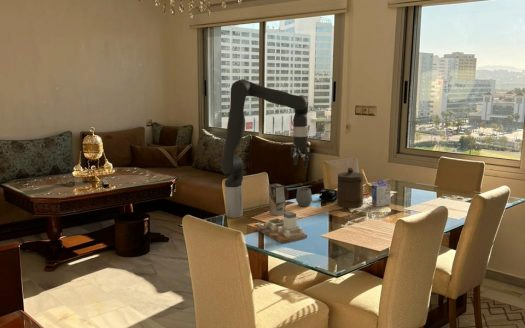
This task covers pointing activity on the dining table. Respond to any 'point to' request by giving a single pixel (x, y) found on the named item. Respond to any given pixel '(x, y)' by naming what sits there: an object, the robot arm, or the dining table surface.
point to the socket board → (280, 231)
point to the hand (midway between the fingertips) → (300, 166)
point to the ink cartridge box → (381, 194)
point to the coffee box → (277, 199)
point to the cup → (304, 197)
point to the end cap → (328, 195)
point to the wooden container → (350, 189)
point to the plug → (289, 220)
